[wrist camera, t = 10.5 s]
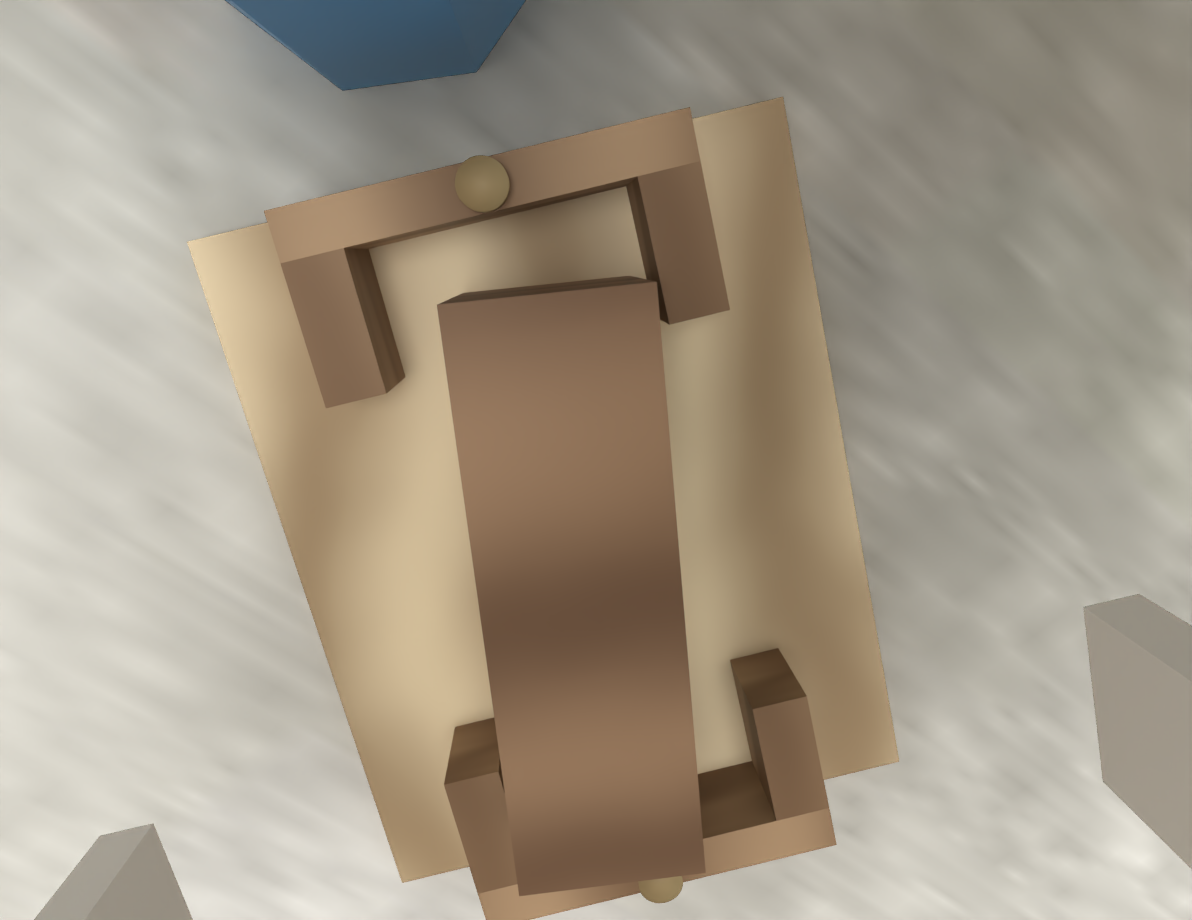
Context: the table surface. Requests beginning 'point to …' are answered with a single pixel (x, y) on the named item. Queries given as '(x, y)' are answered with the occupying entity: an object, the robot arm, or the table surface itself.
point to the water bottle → (384, 36)
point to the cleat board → (435, 496)
